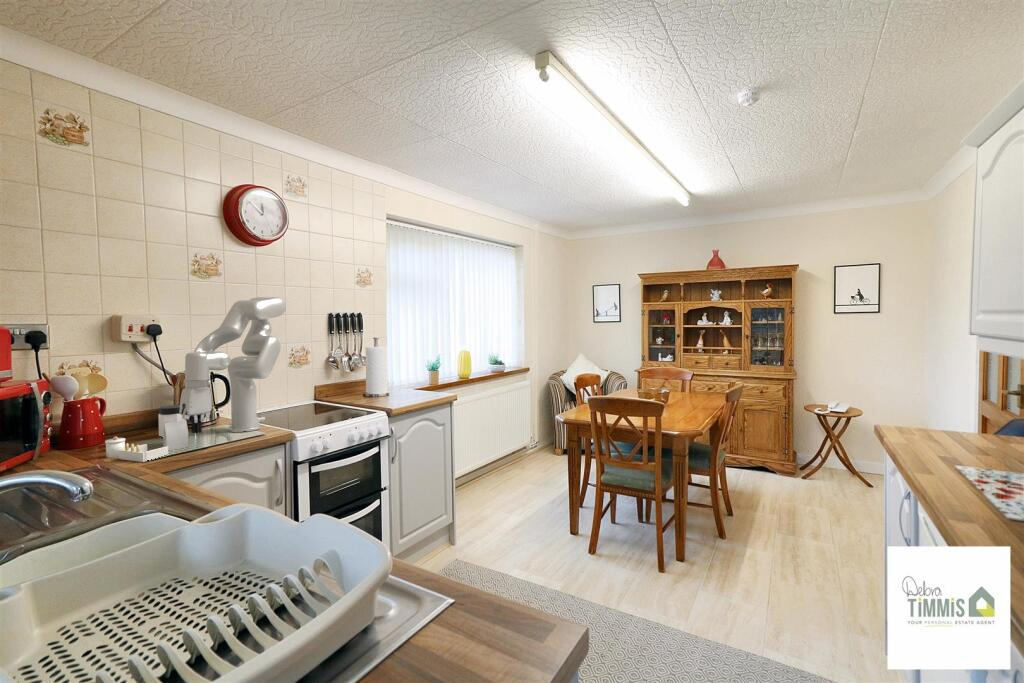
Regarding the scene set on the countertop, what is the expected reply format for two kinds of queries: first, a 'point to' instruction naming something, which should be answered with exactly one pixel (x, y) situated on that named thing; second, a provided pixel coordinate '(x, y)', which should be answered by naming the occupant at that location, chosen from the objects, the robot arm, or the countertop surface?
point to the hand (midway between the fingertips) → (196, 432)
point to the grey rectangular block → (175, 435)
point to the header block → (141, 453)
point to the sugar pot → (114, 446)
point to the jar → (168, 416)
